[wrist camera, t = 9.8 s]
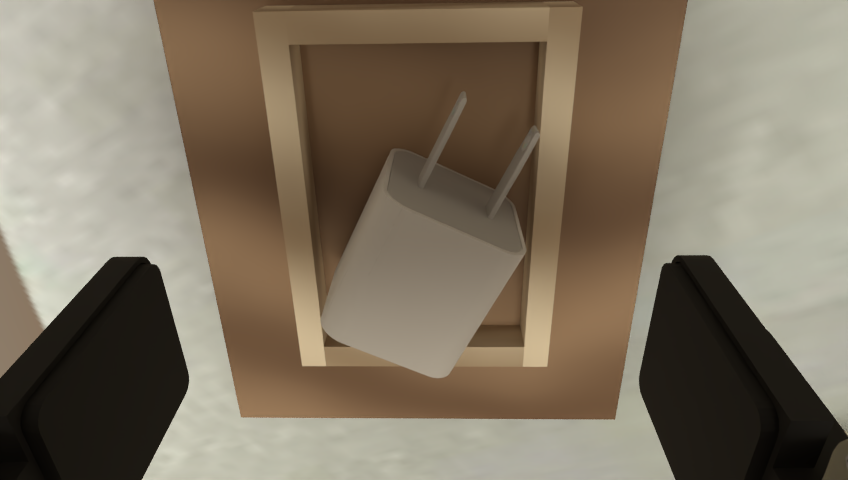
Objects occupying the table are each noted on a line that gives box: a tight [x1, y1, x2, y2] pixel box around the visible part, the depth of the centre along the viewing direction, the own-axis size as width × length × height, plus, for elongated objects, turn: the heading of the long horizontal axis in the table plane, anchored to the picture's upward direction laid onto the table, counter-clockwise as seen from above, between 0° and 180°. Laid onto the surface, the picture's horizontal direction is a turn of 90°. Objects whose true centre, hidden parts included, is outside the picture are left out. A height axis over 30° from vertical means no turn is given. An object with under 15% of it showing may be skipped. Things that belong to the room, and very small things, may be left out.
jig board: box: [154, 0, 688, 419], centre depth 18 cm, size 18×14×2 cm
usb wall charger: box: [321, 91, 540, 378], centre depth 17 cm, size 4×7×4 cm, turn 155°
